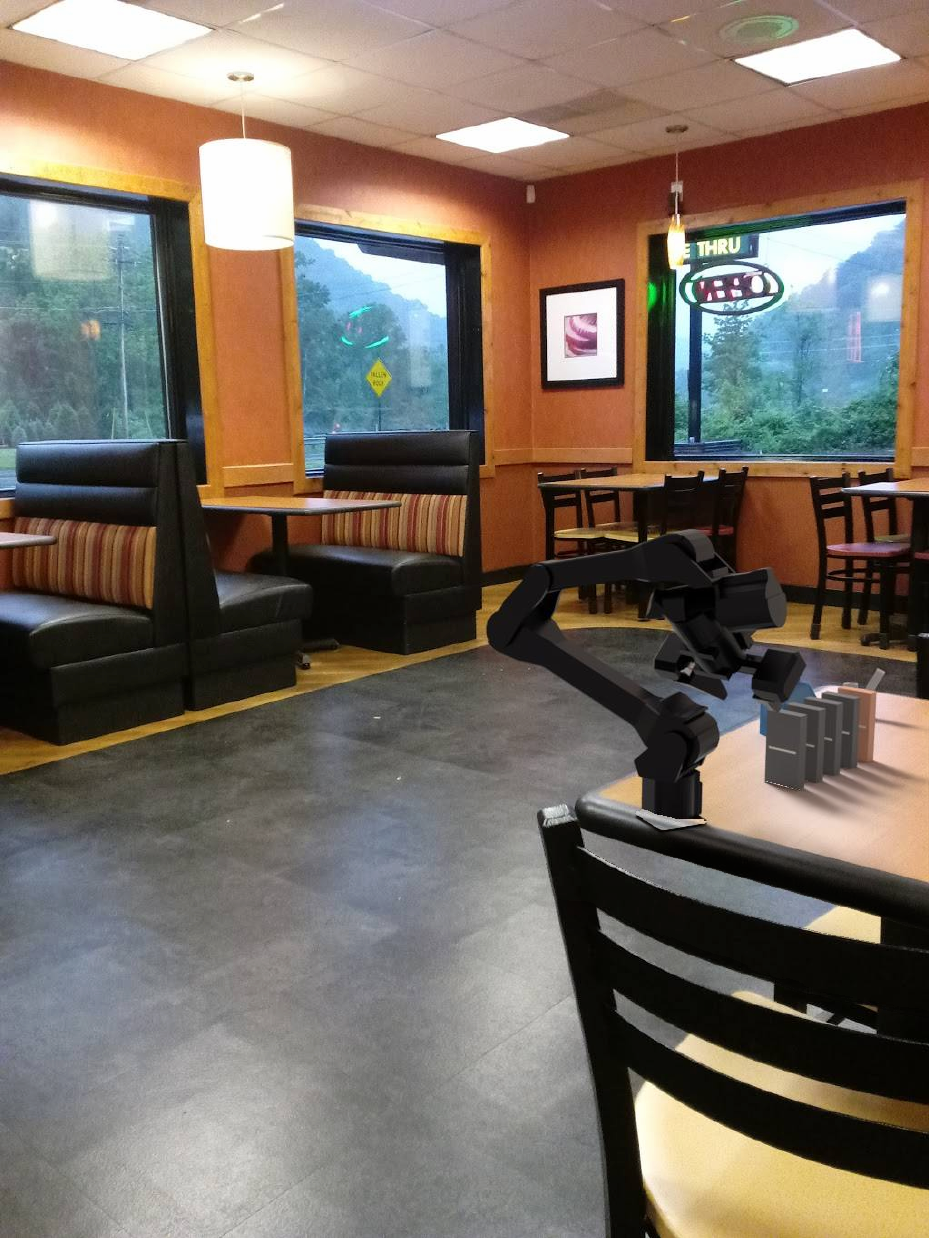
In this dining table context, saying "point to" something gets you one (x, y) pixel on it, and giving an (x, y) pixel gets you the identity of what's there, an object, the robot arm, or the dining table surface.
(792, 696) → the perfume bottle
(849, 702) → the domino
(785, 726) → the domino
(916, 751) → the dining table surface
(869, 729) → the domino
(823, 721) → the domino
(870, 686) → the lighter
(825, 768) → the domino
